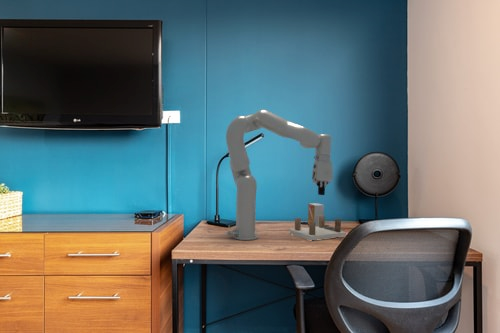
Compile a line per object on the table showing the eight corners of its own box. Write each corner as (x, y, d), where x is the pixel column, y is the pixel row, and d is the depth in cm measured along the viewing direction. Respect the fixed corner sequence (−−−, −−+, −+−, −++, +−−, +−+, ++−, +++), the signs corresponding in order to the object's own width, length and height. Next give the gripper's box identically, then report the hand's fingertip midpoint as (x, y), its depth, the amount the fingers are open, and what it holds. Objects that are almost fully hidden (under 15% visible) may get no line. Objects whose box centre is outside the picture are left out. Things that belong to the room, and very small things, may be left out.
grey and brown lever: (322, 228, 183) (323, 216, 183) (327, 227, 185) (327, 216, 184) (337, 231, 174) (338, 220, 174) (341, 231, 175) (342, 219, 175)
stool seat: (311, 241, 164) (311, 223, 164) (289, 233, 180) (289, 217, 180) (345, 237, 175) (345, 220, 174) (322, 230, 190) (322, 215, 190)
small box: (307, 224, 206) (308, 203, 206) (317, 224, 208) (317, 203, 208) (314, 227, 198) (314, 205, 198) (323, 227, 200) (324, 204, 200)
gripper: (315, 158, 167) (314, 195, 168) (339, 159, 174) (337, 195, 175) (306, 158, 174) (304, 194, 174) (329, 159, 181) (327, 193, 181)
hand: (321, 194), depth 174 cm, fingers closed
